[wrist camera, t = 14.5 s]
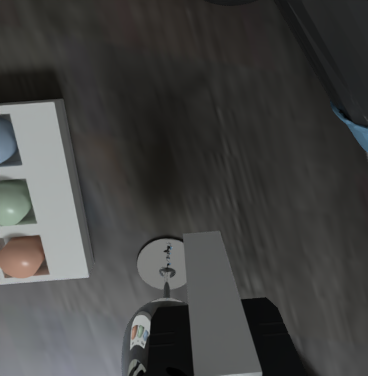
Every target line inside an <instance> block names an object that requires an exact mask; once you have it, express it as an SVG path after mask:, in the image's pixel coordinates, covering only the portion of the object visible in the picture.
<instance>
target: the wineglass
mask: <svg viewBox="0 0 368 376" xmlns="http://www.w3.org/2000/svg"><path fill="white" fill-rule="evenodd" d="M137 270H138V273H139V275H140V276H141V278H142V279H143V280H144V281H145V282H146V283H147V284H149V285H150V286H152V287H154V288H157V289H162V290H164V294H163V298H160V299H156V300H153V301H151V302H149V303H147V304H145V305H144V306H142V307H141V308H139V309H138V310H137V311H136V312H135V314H134V315H133V317H132V318H131V320H130V321H129V323H128V324H127V327H126V330H125V334H124V337H123V345H122V359H121V369H122V376H142V375H143V374H144V373H145V372H146V371H147V363H148V349H149V336H150V321H151V318H152V316H153V315H154V313H155V311H156V310H157V308H158V307H169V306H181V305H188V304H187V303H185V302H183V301H181V300H178V299H174V298H170V290H171V289H176V288H179V287H181V286H183V285H185V284H186V283H187V281H186V268H185V255H184V242H182V241H180V240H177V239H173V238H161V239H157V240H154V241H152V242H150V243H149V244H147V245H146V246H145V247H144V248H143V249H142V250H141V252H140V253H139V256H138V259H137Z"/></svg>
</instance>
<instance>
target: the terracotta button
mask: <svg viewBox="0 0 368 376" xmlns="http://www.w3.org/2000/svg"><path fill="white" fill-rule="evenodd" d="M44 259H45V253H44V249H43V245H42V241H41V237H40V236H39V235H33V236H20V237H12V238H11V239H10V241H9V242H8V243H7V244H6V245H5V246H4V247H3V248H2V250H1V251H0V268H1V269H2V270H3V271H4V272H5V273H6V274H8V275H10V276H12V277H15V278H28V277H30V276H32V275H34V274H35V273H36V271H37V270H38V268H39V267H40V265H41V264H42V262H43V261H44Z"/></svg>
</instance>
